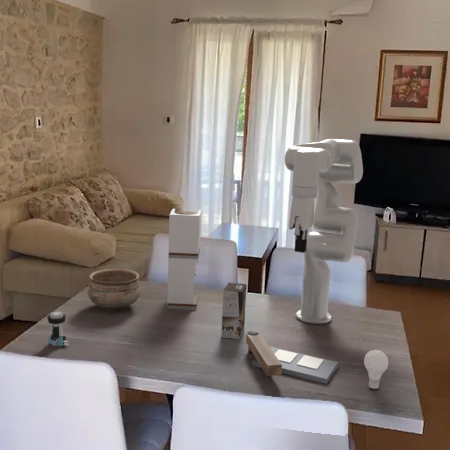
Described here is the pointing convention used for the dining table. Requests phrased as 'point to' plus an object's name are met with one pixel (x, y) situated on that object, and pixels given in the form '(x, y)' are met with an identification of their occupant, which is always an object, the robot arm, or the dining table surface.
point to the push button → (56, 329)
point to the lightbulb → (375, 366)
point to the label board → (303, 365)
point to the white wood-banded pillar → (183, 259)
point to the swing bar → (263, 354)
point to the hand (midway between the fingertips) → (300, 251)
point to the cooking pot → (114, 288)
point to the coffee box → (233, 310)
